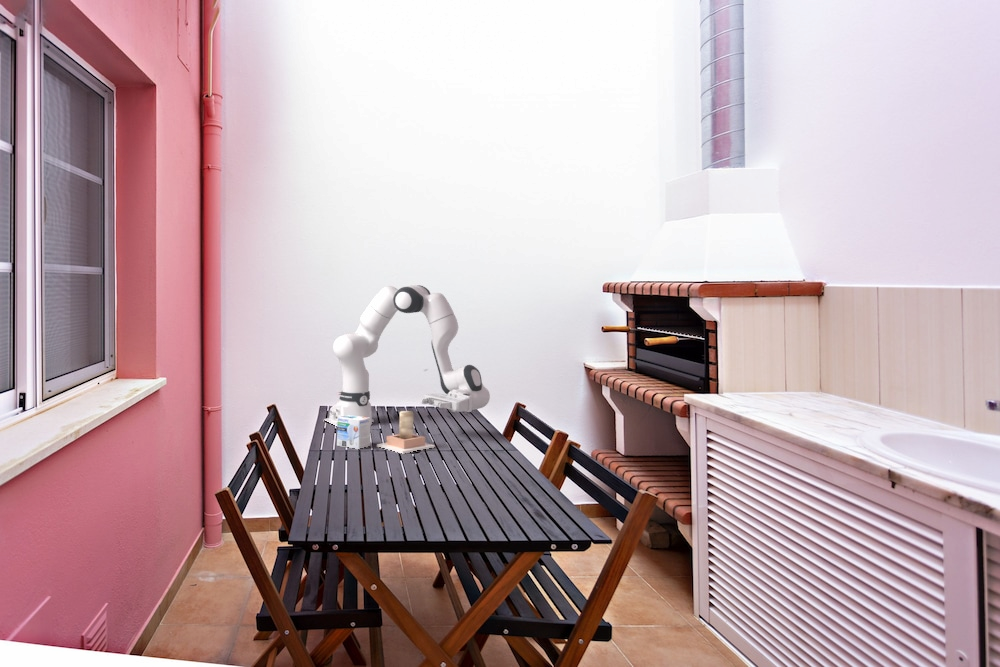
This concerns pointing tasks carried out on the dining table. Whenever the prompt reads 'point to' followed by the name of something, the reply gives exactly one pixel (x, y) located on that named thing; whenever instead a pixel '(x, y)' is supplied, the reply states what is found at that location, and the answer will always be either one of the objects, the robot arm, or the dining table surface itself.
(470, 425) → the dining table surface
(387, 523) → the dining table surface
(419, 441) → the collar base
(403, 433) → the ash peg
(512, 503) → the dining table surface
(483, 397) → the robot arm
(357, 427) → the light bulb box
